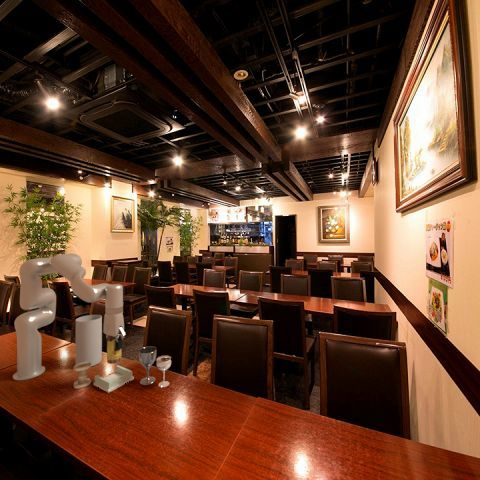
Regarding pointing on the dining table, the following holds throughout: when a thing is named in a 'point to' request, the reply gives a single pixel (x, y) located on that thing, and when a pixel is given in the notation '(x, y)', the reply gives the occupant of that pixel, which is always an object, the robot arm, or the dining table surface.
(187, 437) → the dining table surface
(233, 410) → the dining table surface
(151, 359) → the wine glass
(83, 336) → the cylinder vase
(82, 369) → the bobbin
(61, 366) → the dining table surface
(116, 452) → the dining table surface
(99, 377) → the notched board
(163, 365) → the wineglass
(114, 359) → the sauce bottle
